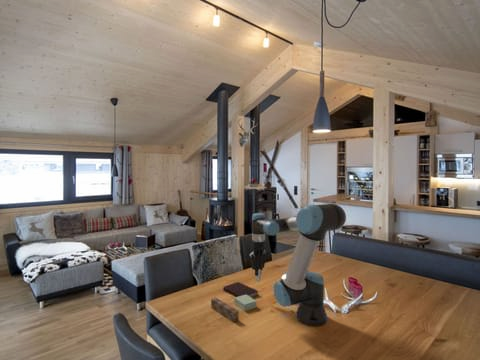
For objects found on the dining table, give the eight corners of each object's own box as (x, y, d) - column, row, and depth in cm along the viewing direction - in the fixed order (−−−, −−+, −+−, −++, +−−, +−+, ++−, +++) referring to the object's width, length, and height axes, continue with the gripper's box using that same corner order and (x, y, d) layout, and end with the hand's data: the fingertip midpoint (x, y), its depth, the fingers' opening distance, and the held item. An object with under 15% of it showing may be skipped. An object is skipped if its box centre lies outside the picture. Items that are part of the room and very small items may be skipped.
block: (256, 308, 161) (256, 301, 161) (244, 311, 157) (244, 304, 157) (246, 301, 170) (246, 294, 170) (234, 304, 166) (234, 297, 165)
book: (242, 301, 169) (242, 296, 169) (223, 291, 184) (223, 285, 184) (258, 296, 177) (258, 290, 177) (238, 286, 192) (238, 281, 192)
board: (238, 320, 147) (238, 310, 147) (233, 322, 146) (233, 312, 145) (215, 306, 163) (215, 297, 163) (211, 307, 161) (211, 298, 161)
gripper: (262, 237, 176) (261, 276, 177) (245, 240, 167) (245, 281, 168) (271, 239, 170) (270, 280, 171) (254, 243, 162) (254, 285, 163)
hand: (258, 280), depth 170 cm, fingers closed
